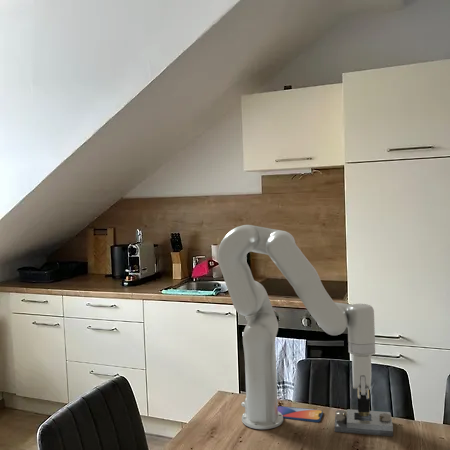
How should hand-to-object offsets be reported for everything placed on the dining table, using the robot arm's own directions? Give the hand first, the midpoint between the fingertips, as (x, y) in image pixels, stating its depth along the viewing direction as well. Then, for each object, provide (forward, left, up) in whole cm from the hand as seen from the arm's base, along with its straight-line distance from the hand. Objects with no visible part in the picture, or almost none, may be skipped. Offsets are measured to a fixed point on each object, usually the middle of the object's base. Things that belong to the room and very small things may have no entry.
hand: (363, 408), depth 145 cm
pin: (0, 0, -2) cm, 2 cm away
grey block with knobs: (0, 0, -6) cm, 6 cm away
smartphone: (-18, -9, -6) cm, 21 cm away
